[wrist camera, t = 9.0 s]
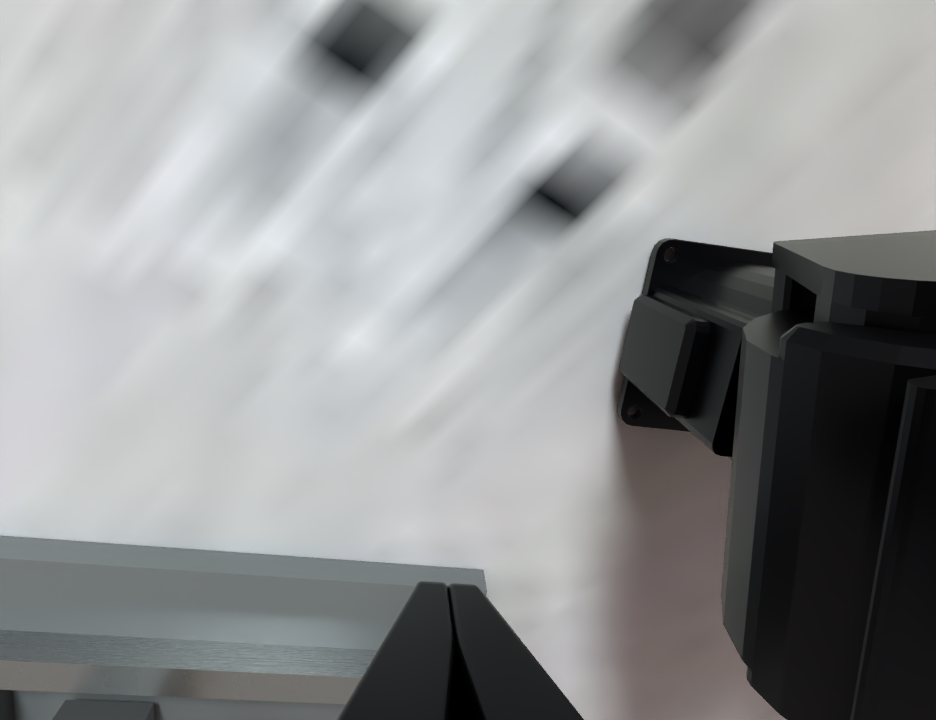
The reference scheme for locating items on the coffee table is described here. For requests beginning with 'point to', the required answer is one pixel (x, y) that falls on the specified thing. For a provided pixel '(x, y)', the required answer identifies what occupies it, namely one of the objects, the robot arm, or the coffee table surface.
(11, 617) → the panel
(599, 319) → the coffee table surface
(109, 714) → the handle
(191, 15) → the coffee table surface
